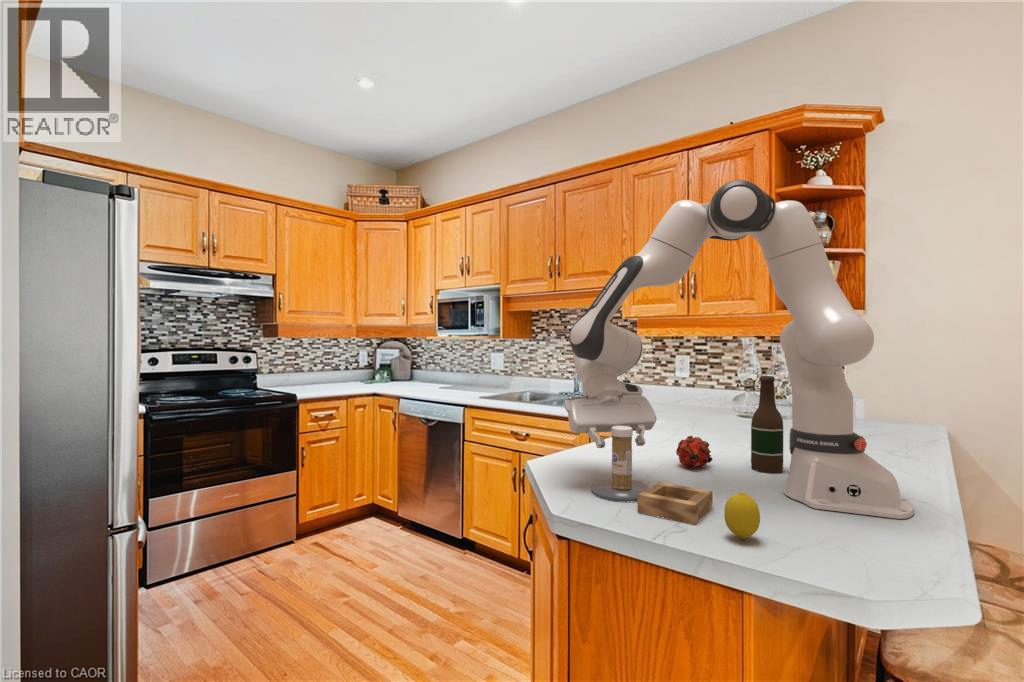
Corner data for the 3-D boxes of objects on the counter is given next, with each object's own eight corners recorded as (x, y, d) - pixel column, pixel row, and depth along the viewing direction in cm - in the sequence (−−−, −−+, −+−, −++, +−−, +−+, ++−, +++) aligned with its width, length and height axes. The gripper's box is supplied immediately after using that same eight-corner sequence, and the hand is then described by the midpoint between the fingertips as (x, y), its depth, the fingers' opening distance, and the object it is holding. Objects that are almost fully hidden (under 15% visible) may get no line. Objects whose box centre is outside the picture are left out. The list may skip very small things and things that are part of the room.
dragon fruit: (696, 466, 142) (696, 485, 131) (670, 447, 143) (668, 464, 132) (716, 444, 139) (718, 460, 128) (689, 424, 141) (689, 439, 130)
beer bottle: (746, 465, 137) (746, 374, 137) (777, 466, 136) (777, 375, 135) (756, 473, 129) (756, 377, 129) (789, 474, 128) (789, 377, 128)
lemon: (764, 547, 84) (764, 498, 84) (728, 544, 85) (727, 495, 85) (755, 534, 89) (755, 488, 89) (721, 532, 90) (721, 486, 90)
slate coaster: (661, 490, 115) (661, 486, 115) (637, 506, 104) (637, 501, 104) (608, 481, 122) (608, 476, 122) (581, 494, 112) (581, 489, 112)
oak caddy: (712, 508, 103) (712, 491, 103) (694, 524, 94) (694, 505, 94) (658, 498, 109) (658, 481, 109) (637, 512, 101) (637, 494, 101)
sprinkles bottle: (607, 488, 113) (607, 426, 113) (619, 483, 117) (619, 424, 116) (625, 492, 110) (624, 429, 110) (636, 488, 113) (636, 426, 113)
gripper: (565, 388, 118) (580, 439, 109) (647, 386, 123) (668, 435, 113) (559, 405, 123) (573, 456, 113) (638, 402, 127) (658, 451, 118)
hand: (621, 445), depth 113 cm, fingers open, 8 cm apart
